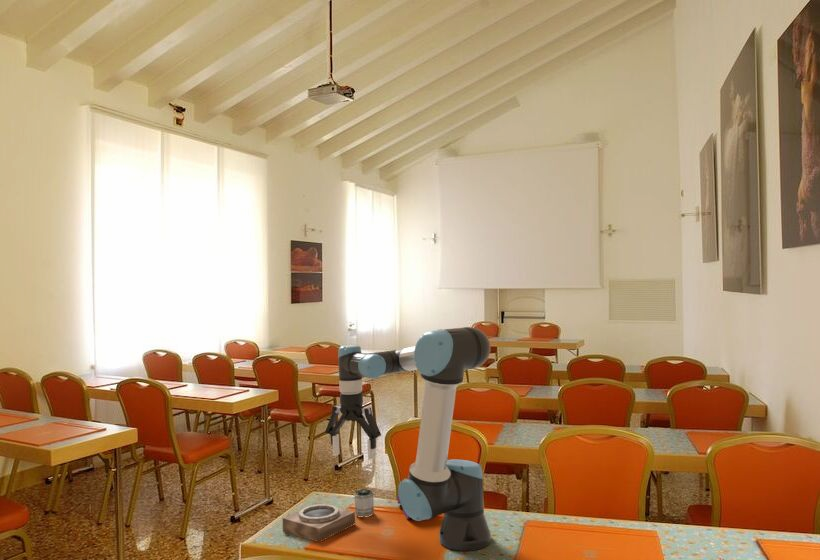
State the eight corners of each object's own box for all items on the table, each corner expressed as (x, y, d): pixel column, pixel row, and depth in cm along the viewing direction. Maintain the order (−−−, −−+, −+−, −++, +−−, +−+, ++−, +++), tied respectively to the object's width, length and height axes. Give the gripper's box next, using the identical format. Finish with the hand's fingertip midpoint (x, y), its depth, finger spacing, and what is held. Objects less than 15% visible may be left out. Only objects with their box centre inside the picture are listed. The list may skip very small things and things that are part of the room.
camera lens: (375, 511, 212) (374, 488, 212) (371, 518, 205) (371, 494, 205) (357, 511, 213) (356, 487, 213) (353, 518, 206) (352, 494, 206)
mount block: (355, 524, 201) (354, 508, 201) (319, 542, 188) (318, 524, 188) (319, 514, 210) (318, 499, 210) (282, 530, 197) (282, 514, 197)
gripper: (389, 392, 206) (392, 457, 205) (326, 388, 217) (328, 450, 217) (377, 396, 199) (380, 463, 199) (313, 392, 210) (315, 456, 210)
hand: (353, 456), depth 208 cm, fingers open, 13 cm apart
